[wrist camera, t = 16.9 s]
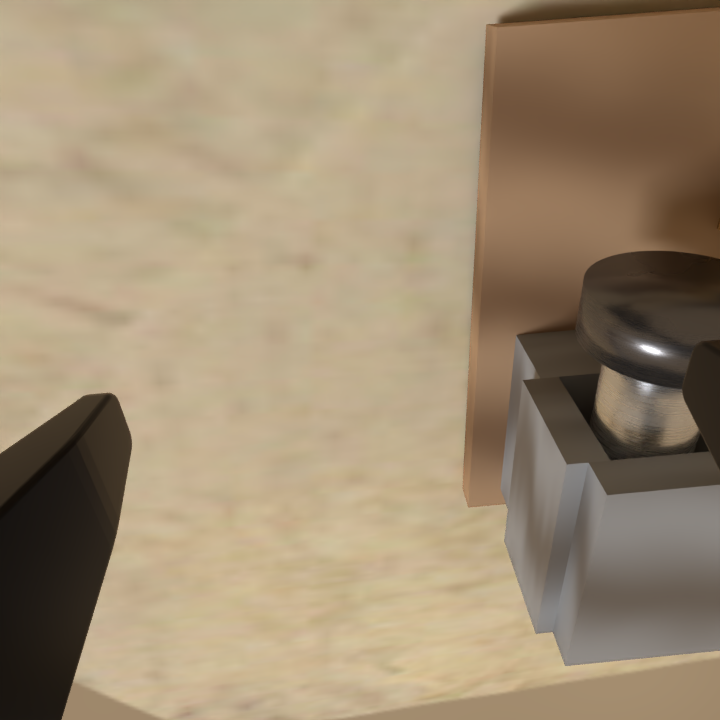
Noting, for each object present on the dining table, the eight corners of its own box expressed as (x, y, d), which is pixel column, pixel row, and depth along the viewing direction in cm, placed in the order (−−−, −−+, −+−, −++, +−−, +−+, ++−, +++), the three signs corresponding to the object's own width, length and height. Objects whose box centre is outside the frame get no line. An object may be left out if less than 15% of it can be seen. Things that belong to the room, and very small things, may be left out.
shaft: (558, 257, 17) (632, 342, 13) (716, 244, 17) (838, 323, 13) (515, 570, 25) (553, 681, 21) (624, 559, 25) (682, 668, 21)
